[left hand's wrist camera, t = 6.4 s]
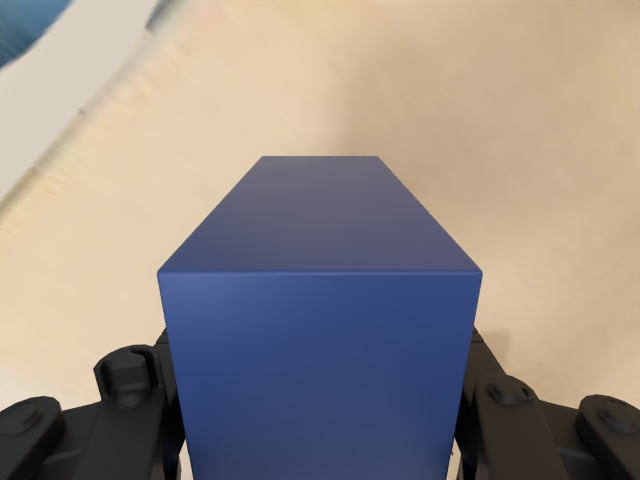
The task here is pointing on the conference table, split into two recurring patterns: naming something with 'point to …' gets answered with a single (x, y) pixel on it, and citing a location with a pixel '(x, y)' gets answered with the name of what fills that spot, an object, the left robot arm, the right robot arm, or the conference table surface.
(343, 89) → the conference table surface
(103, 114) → the conference table surface
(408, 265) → the brick
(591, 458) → the left robot arm
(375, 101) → the conference table surface
